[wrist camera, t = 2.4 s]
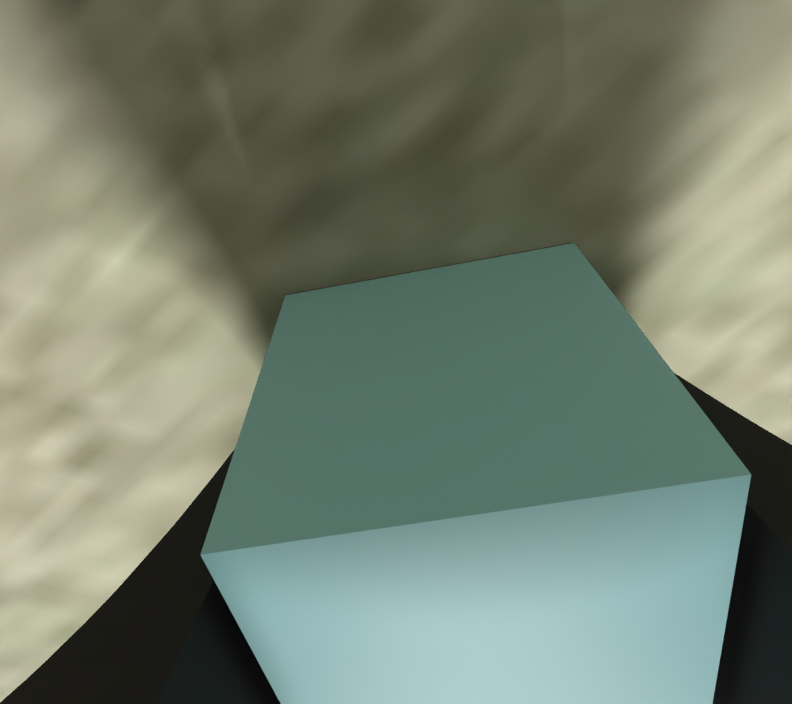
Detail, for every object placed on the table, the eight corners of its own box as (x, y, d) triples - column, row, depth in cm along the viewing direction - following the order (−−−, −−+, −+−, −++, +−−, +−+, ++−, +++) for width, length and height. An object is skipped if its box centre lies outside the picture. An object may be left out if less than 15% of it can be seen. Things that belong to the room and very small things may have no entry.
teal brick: (581, 464, 11) (703, 755, 7) (350, 498, 12) (329, 795, 7) (573, 243, 9) (750, 473, 5) (285, 295, 9) (200, 554, 5)
